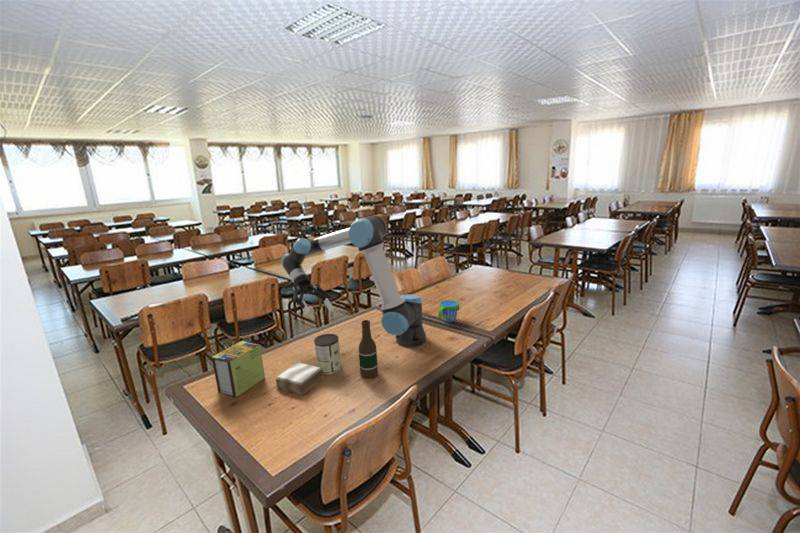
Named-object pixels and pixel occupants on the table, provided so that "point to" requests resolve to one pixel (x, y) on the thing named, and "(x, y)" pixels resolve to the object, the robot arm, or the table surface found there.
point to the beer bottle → (367, 353)
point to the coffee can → (328, 353)
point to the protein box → (238, 368)
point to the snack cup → (448, 310)
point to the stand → (299, 378)
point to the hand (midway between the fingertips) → (320, 311)
